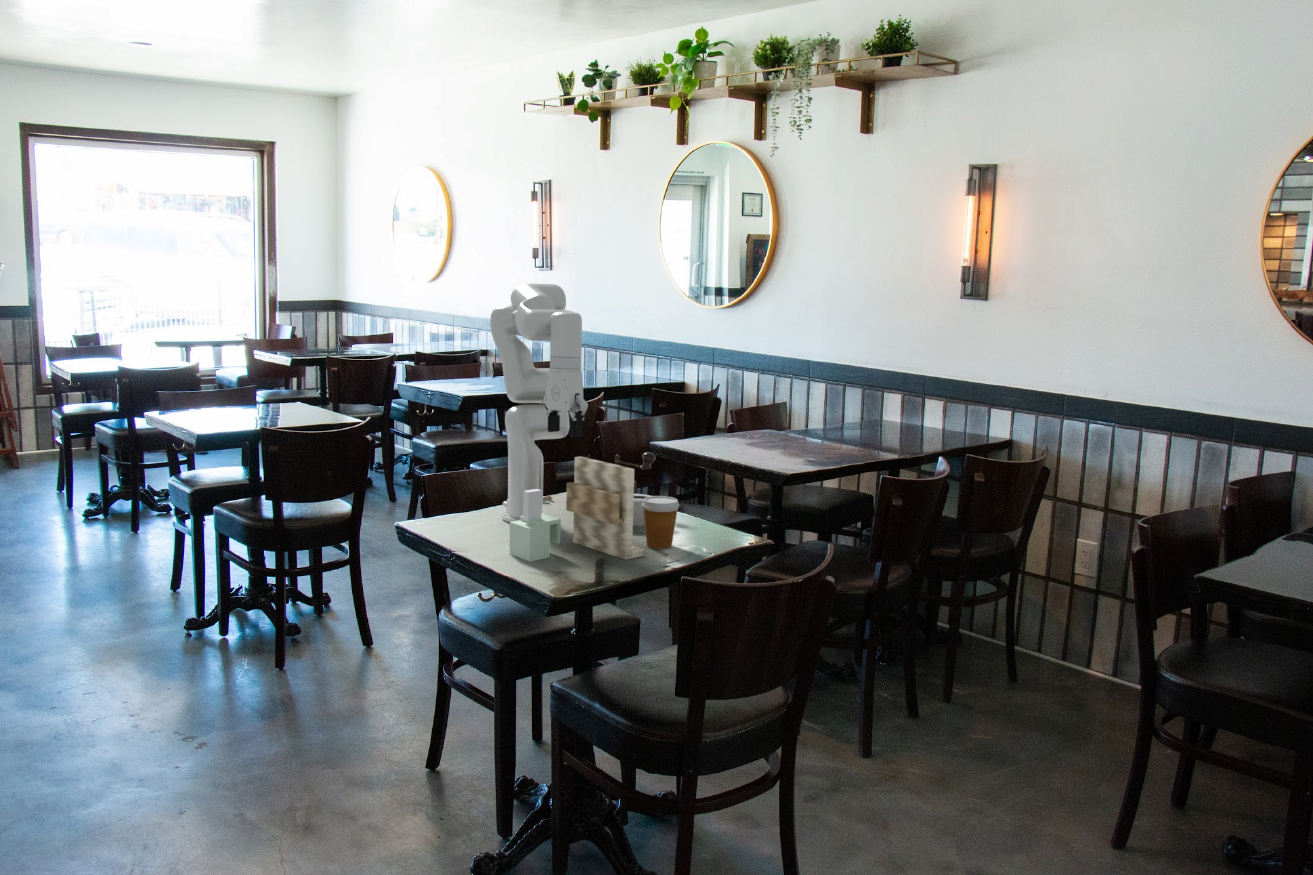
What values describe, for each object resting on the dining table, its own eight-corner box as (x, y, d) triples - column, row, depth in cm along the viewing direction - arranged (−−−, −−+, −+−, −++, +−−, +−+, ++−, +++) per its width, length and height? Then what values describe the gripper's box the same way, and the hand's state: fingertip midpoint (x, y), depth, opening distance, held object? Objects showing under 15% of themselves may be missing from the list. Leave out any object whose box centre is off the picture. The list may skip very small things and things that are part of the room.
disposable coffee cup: (651, 552, 256) (652, 505, 254) (634, 543, 264) (635, 497, 262) (684, 548, 260) (686, 502, 258) (667, 539, 269) (668, 494, 267)
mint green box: (509, 554, 251) (510, 489, 248) (539, 547, 257) (540, 484, 255) (529, 561, 245) (530, 495, 243) (560, 554, 252) (560, 490, 249)
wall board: (563, 544, 261) (564, 458, 258) (591, 538, 268) (592, 454, 264) (615, 561, 247) (618, 471, 243) (644, 555, 253) (646, 467, 250)
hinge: (662, 521, 288) (664, 491, 283) (664, 531, 283) (666, 500, 279) (602, 521, 285) (603, 490, 281) (603, 531, 281) (604, 500, 276)
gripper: (532, 361, 253) (532, 430, 256) (573, 367, 240) (572, 440, 242) (558, 360, 258) (557, 428, 260) (599, 366, 244) (598, 437, 247)
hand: (564, 434), depth 251 cm, fingers open, 9 cm apart
